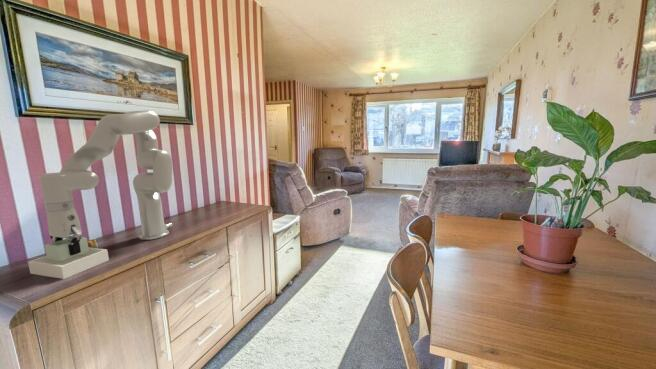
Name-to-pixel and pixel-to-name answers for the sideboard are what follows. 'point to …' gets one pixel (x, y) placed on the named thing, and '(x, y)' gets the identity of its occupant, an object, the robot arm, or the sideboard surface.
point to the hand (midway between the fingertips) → (68, 252)
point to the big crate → (68, 264)
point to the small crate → (64, 249)
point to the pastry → (92, 244)
